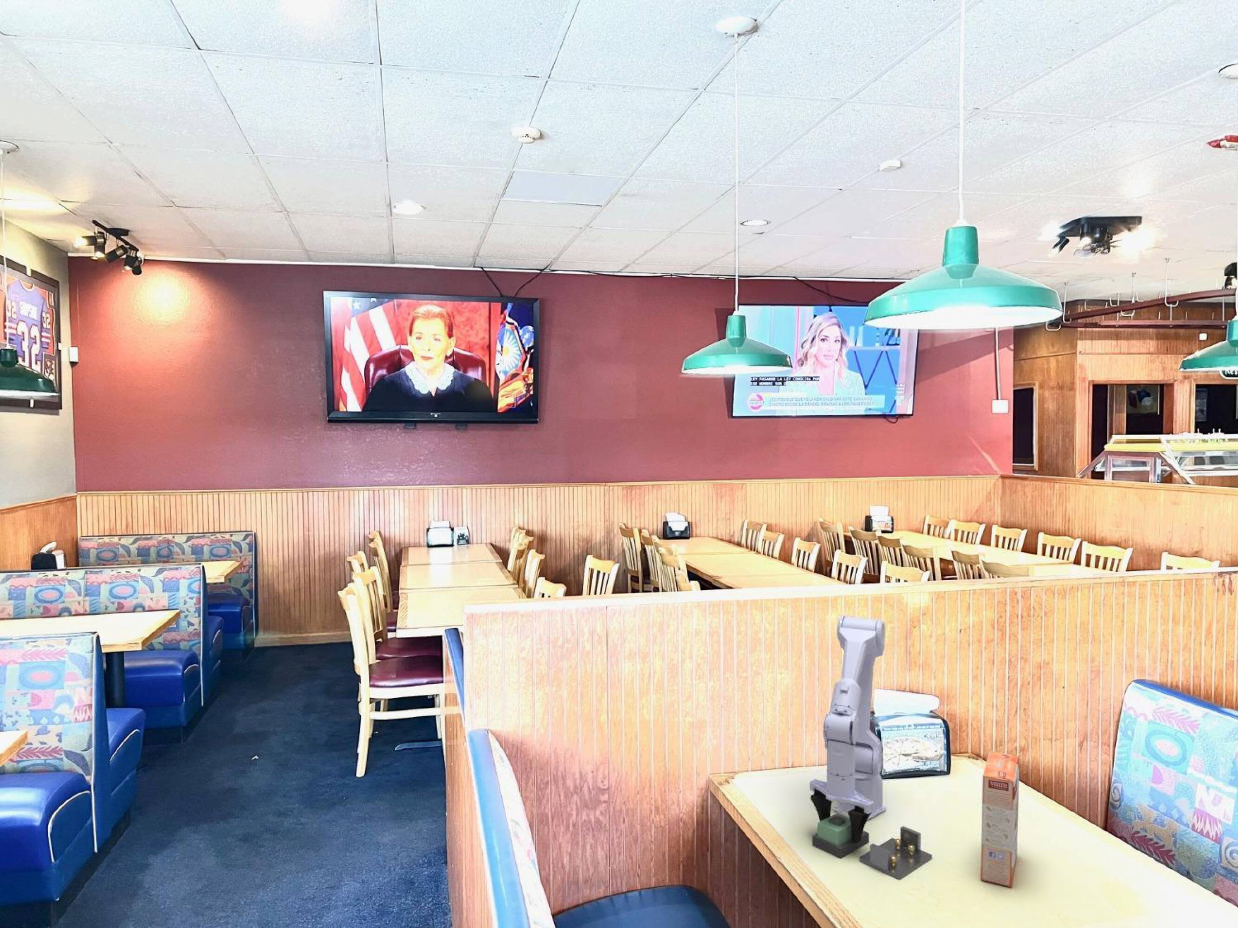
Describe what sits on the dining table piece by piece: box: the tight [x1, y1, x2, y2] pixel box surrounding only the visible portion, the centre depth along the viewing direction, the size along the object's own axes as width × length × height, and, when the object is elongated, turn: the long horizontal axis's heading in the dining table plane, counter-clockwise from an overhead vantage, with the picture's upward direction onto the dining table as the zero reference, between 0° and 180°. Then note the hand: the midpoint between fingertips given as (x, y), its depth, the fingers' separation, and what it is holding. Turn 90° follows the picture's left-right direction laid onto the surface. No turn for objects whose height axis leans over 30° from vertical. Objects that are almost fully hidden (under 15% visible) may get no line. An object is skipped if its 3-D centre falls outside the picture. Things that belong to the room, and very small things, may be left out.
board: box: [817, 810, 863, 846], centre depth 170 cm, size 9×5×4 cm, turn 129°
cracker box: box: [980, 750, 1020, 888], centre depth 160 cm, size 14×6×21 cm, turn 150°
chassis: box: [858, 825, 933, 881], centre depth 163 cm, size 12×9×4 cm
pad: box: [811, 830, 870, 859], centre depth 170 cm, size 10×7×2 cm
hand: (840, 834), depth 170 cm, fingers open, 7 cm apart
